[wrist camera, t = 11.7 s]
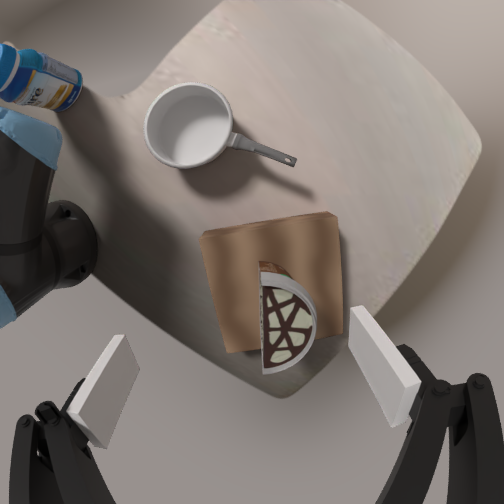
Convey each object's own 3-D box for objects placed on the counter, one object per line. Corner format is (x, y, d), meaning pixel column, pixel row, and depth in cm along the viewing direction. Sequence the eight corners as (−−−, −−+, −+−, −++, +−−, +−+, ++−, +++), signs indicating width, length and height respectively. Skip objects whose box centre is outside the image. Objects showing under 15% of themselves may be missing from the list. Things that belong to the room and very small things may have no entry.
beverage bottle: (90, 66, 31) (16, 29, 11) (77, 112, 33) (-8, 93, 14) (57, 72, 30) (-16, 46, 11) (45, 114, 32) (-35, 103, 13)
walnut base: (229, 335, 44) (227, 353, 39) (204, 231, 39) (198, 239, 34) (334, 317, 43) (343, 333, 39) (326, 211, 38) (337, 216, 34)
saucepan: (274, 201, 38) (278, 206, 33) (146, 156, 36) (131, 154, 31) (303, 129, 35) (312, 122, 30) (174, 85, 33) (164, 73, 28)
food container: (301, 329, 38) (315, 373, 29) (259, 331, 38) (262, 377, 29) (305, 248, 35) (325, 276, 25) (258, 249, 35) (261, 279, 25)
